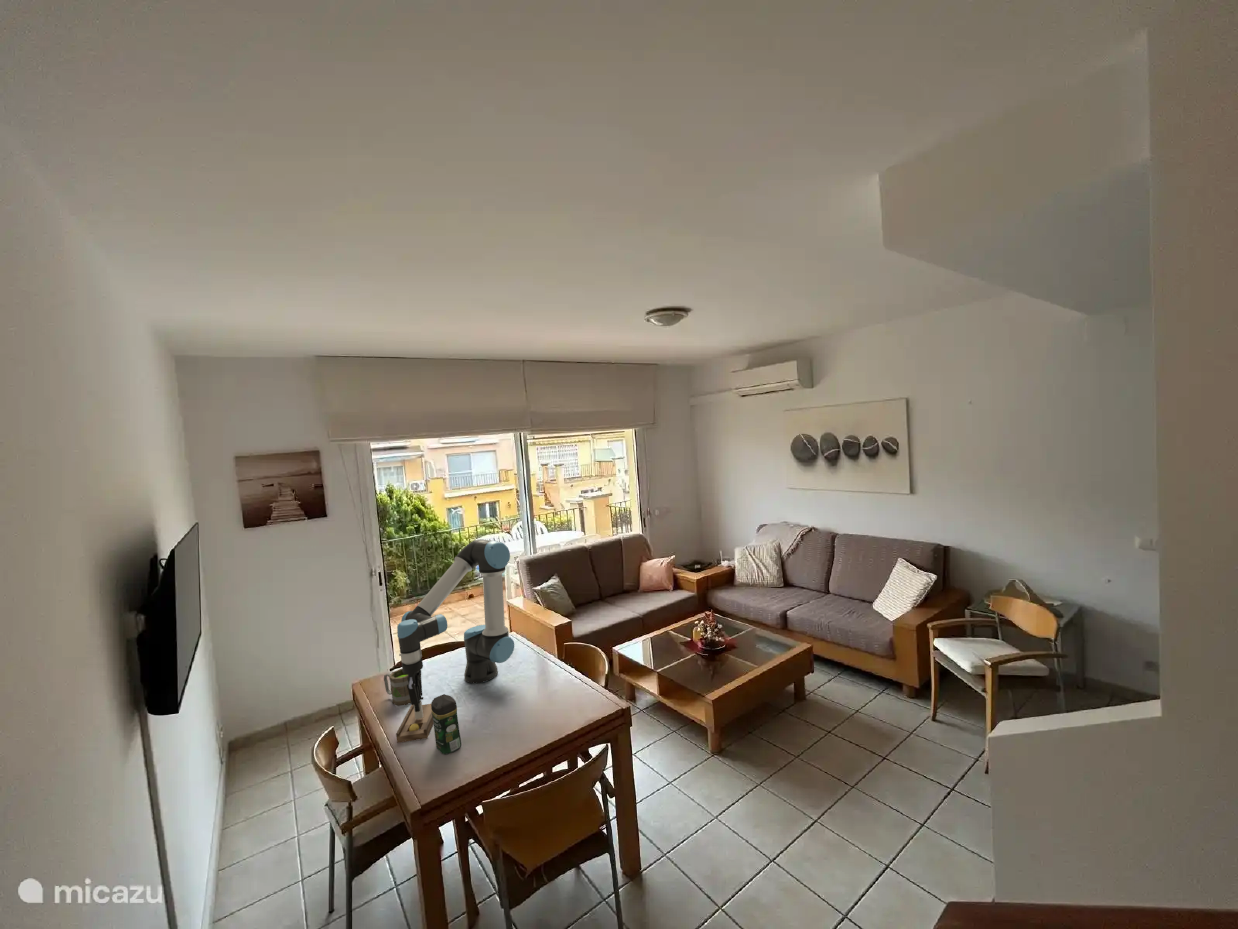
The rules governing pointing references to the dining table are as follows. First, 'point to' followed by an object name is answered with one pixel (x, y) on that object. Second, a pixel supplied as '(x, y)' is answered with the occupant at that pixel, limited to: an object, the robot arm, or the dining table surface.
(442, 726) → the coffee jar
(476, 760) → the dining table surface
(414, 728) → the ball
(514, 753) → the dining table surface
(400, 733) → the lane board
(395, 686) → the mug
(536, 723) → the dining table surface
